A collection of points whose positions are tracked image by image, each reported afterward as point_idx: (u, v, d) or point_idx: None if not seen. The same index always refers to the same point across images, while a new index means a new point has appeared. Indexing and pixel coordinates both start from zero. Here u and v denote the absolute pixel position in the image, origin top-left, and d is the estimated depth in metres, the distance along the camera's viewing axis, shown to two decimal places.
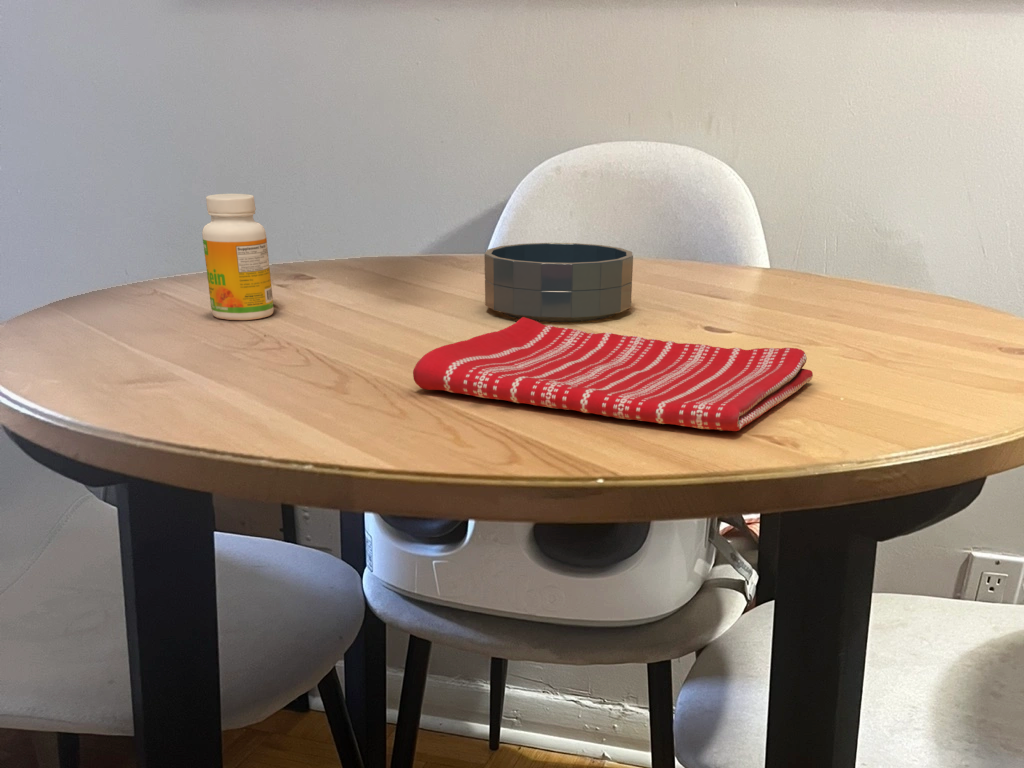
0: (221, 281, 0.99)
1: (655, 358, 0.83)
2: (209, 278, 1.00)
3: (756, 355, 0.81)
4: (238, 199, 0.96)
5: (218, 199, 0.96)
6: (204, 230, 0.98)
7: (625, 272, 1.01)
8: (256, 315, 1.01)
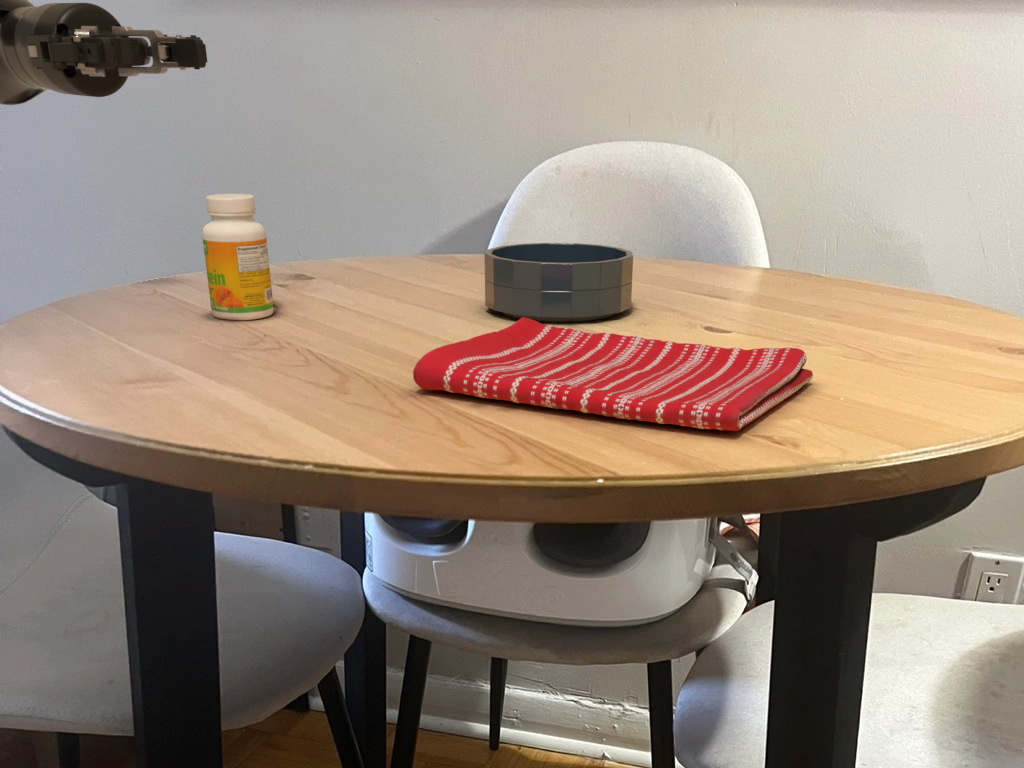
0: (221, 281, 0.99)
1: (655, 358, 0.83)
2: (209, 278, 1.00)
3: (756, 355, 0.81)
4: (238, 199, 0.96)
5: (218, 199, 0.96)
6: (204, 230, 0.98)
7: (625, 272, 1.01)
8: (256, 315, 1.01)
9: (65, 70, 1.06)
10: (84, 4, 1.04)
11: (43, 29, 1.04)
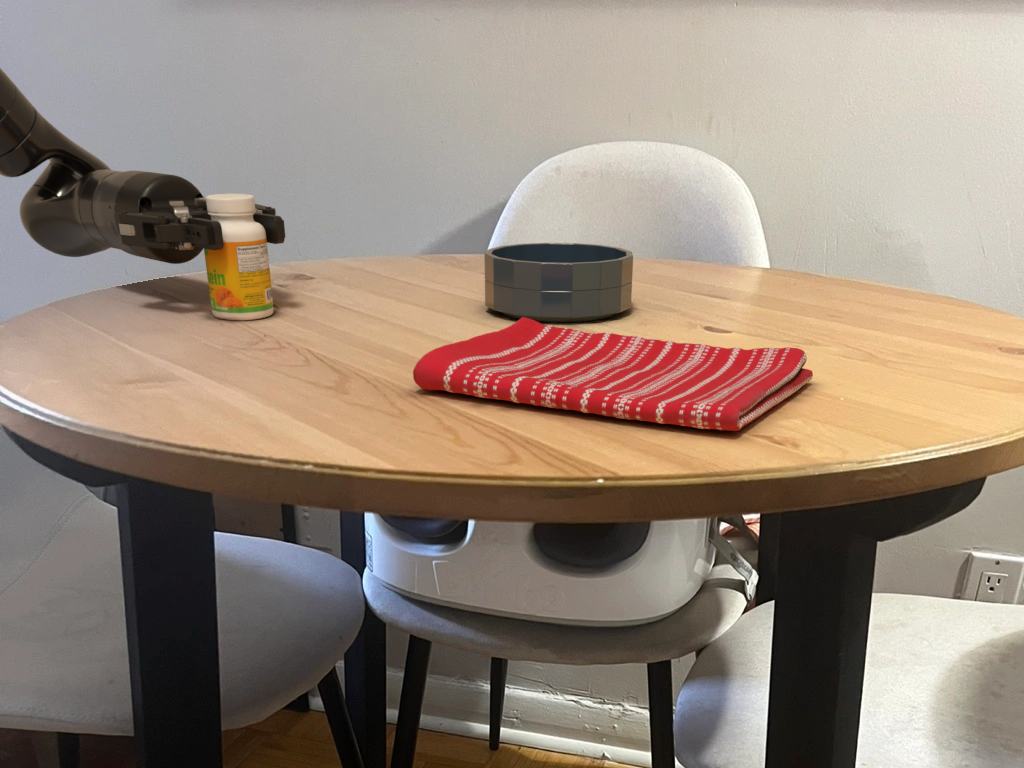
0: (221, 281, 0.99)
1: (655, 358, 0.83)
2: (209, 278, 1.00)
3: (756, 355, 0.81)
4: (238, 199, 0.96)
5: (218, 199, 0.96)
6: None
7: (625, 272, 1.01)
8: (256, 315, 1.01)
9: None
10: (167, 176, 1.03)
11: (125, 201, 1.04)
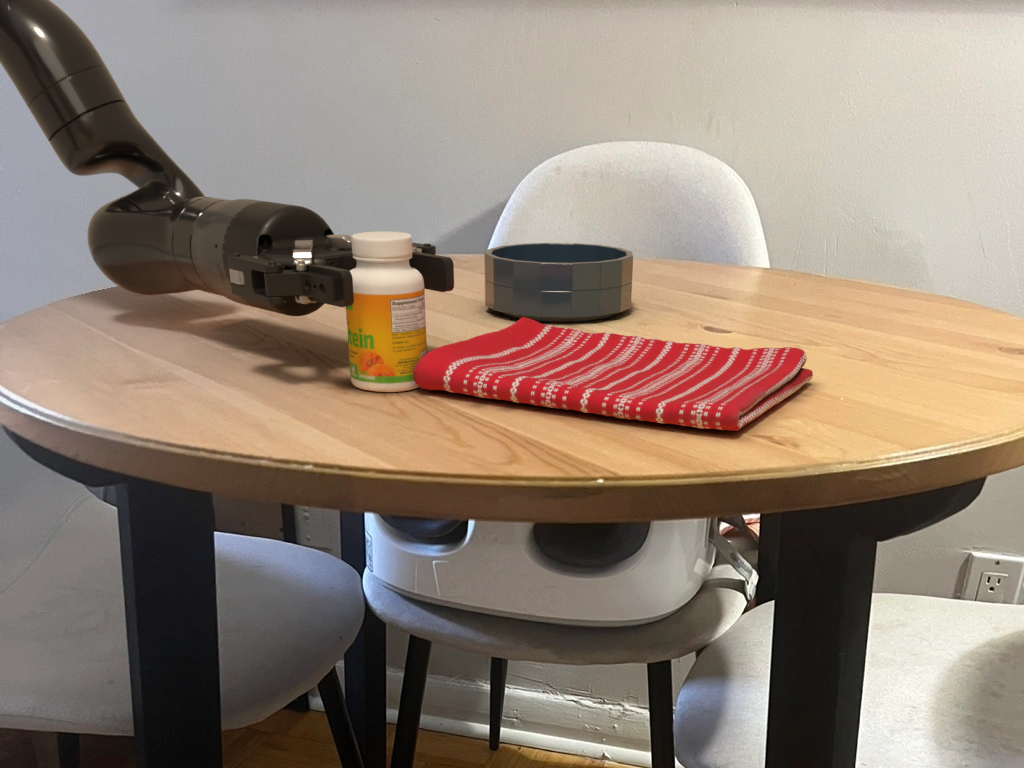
0: (368, 344, 0.77)
1: (655, 358, 0.83)
2: (351, 339, 0.78)
3: (756, 354, 0.81)
4: (395, 240, 0.75)
5: (370, 240, 0.75)
6: None
7: (625, 272, 1.01)
8: (410, 385, 0.79)
9: None
10: (292, 208, 0.81)
11: (238, 239, 0.82)
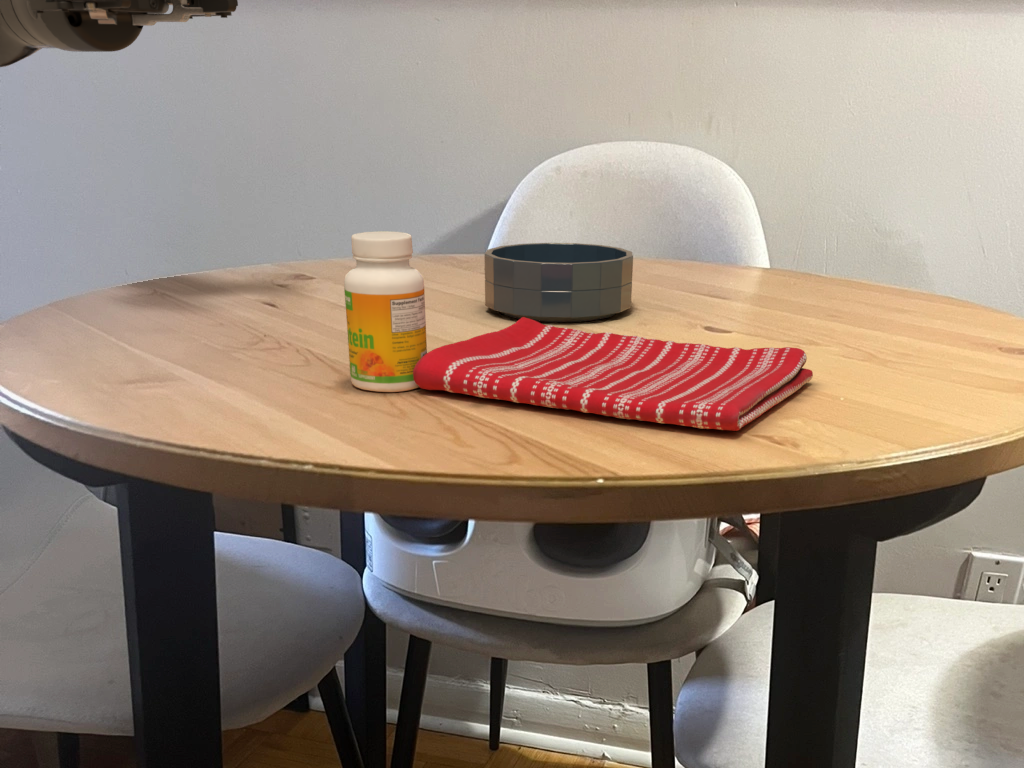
0: (368, 344, 0.77)
1: (655, 358, 0.83)
2: (351, 339, 0.78)
3: (756, 354, 0.81)
4: (395, 240, 0.75)
5: (370, 240, 0.75)
6: (348, 279, 0.76)
7: (625, 272, 1.01)
8: (410, 385, 0.79)
9: (69, 19, 0.91)
10: None
11: None
